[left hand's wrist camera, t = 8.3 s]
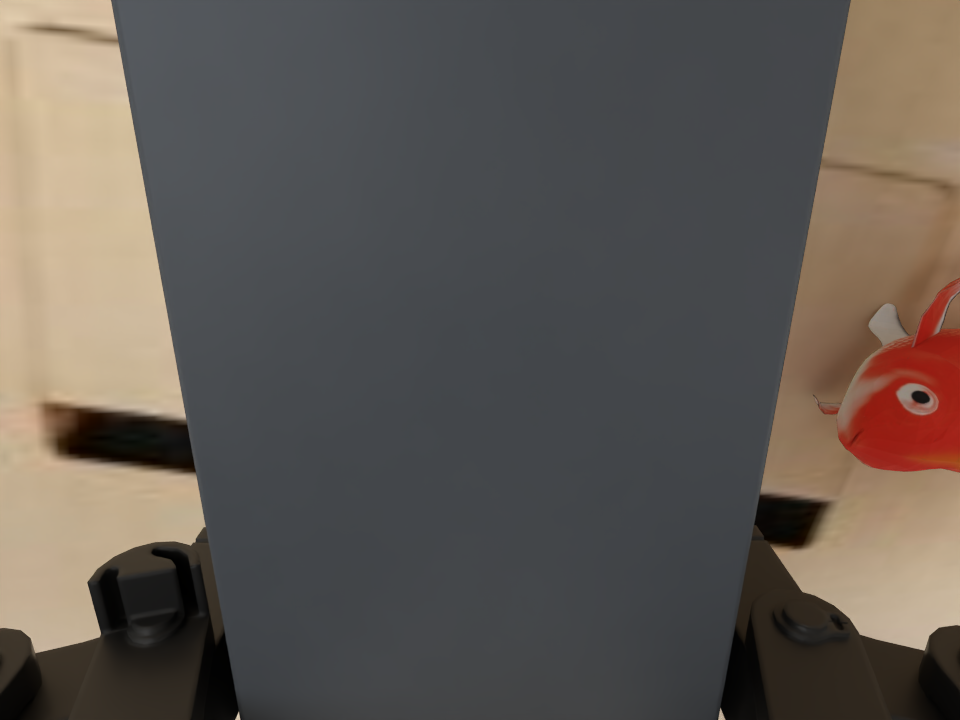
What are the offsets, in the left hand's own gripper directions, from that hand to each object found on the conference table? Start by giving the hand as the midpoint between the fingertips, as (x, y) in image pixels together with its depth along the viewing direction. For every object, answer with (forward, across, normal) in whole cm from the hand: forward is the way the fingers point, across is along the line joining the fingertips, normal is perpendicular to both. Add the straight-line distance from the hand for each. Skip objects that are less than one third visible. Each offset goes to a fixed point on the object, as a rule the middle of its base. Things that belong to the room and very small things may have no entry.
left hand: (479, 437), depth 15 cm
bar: (+1, 0, -8) cm, 8 cm away
